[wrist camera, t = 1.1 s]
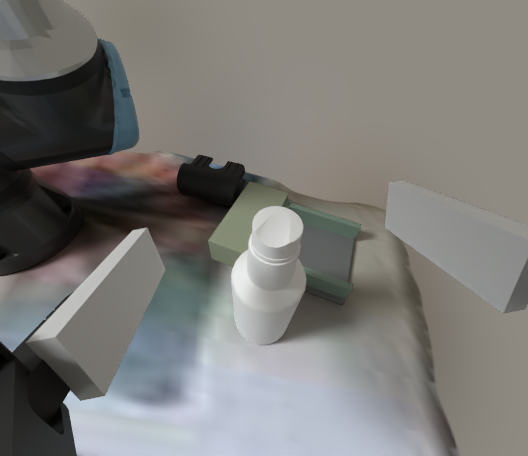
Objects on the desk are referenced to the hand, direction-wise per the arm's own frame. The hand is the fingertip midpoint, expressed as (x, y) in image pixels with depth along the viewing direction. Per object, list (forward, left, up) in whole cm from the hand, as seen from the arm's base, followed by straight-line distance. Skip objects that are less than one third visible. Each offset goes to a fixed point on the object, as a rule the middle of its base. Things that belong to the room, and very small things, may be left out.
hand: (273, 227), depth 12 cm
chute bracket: (0, +14, -20) cm, 24 cm away
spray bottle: (0, +2, -20) cm, 20 cm away
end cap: (-16, +19, -20) cm, 32 cm away
